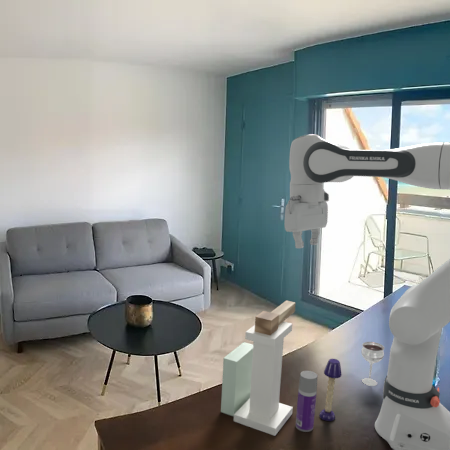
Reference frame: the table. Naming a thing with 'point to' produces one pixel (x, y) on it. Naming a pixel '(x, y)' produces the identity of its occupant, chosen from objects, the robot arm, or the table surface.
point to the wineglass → (372, 358)
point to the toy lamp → (330, 388)
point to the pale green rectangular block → (236, 378)
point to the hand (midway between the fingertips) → (307, 246)
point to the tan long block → (273, 318)
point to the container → (306, 401)
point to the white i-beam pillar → (266, 382)
